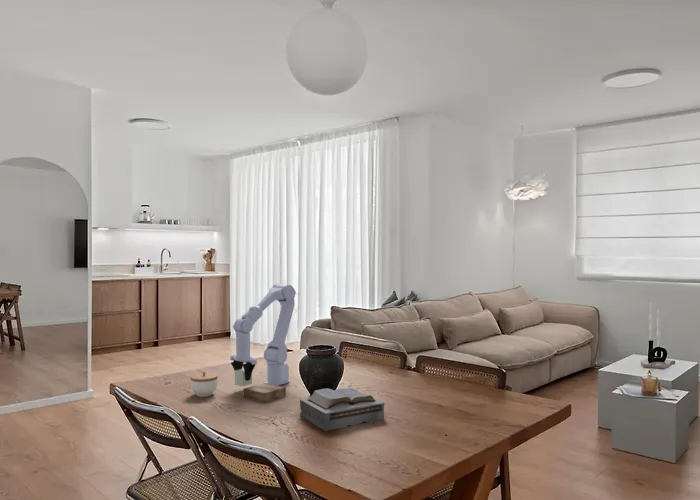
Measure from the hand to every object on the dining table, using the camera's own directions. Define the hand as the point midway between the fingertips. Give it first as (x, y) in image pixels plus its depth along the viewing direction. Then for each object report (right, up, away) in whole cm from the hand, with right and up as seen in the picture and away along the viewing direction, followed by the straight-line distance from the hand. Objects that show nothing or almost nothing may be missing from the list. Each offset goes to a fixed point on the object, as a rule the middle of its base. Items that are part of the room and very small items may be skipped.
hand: (243, 379), depth 234 cm
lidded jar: (-15, -5, -6) cm, 17 cm away
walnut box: (+10, -5, -9) cm, 15 cm away
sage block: (0, -2, 0) cm, 2 cm away
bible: (+42, -6, -37) cm, 56 cm away
